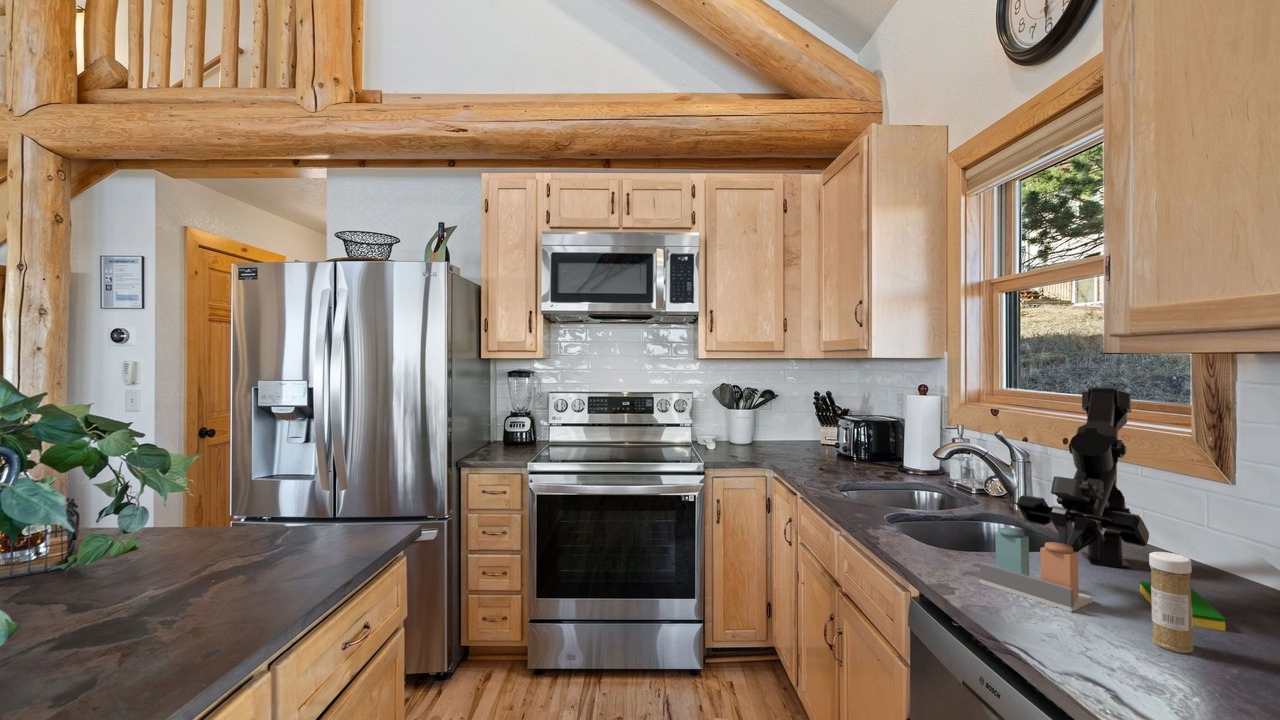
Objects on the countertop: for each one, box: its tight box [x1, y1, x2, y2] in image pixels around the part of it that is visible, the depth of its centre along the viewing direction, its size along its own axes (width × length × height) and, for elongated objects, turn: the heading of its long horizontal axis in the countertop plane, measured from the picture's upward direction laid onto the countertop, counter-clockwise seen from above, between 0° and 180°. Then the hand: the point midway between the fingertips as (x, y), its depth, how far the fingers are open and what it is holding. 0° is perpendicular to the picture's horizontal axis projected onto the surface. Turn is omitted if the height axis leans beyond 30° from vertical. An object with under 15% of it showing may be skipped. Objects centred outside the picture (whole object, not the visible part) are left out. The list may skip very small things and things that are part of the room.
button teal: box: [994, 527, 1030, 576], centre depth 107 cm, size 4×4×9 cm
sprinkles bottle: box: [1148, 551, 1195, 654], centre depth 82 cm, size 5×5×14 cm
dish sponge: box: [1139, 580, 1226, 632], centre depth 94 cm, size 7×14×2 cm, turn 151°
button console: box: [978, 562, 1094, 613], centre depth 102 cm, size 8×15×4 cm, turn 30°
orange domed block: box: [1039, 541, 1080, 600], centre depth 98 cm, size 4×4×9 cm
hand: (1063, 556), depth 99 cm, fingers closed, pressing on orange domed block
